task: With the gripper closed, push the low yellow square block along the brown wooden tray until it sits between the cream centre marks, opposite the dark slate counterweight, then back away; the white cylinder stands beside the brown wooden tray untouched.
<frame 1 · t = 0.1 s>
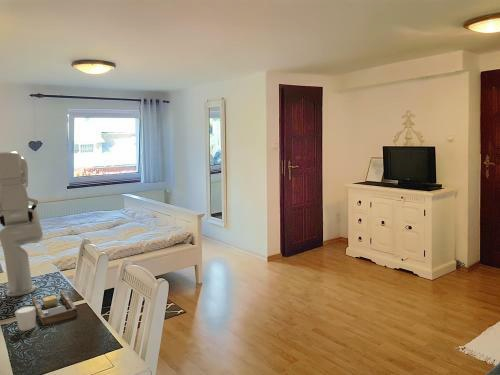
hand: (17, 223, 167), 37 cm above the table, tool pointing down, fingers open, 9 cm apart
counterweight: (58, 317, 161), resting in brown wooden tray
brown wooden tray: (54, 309, 168), on the table
white cylinder: (27, 327, 153), on the table
yellow square block: (50, 304, 174), resting in brown wooden tray
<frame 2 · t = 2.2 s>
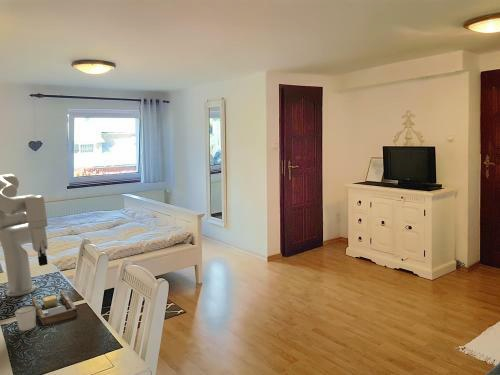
hand: (43, 264, 178), 16 cm above the table, tool pointing down, fingers closed
nothing on the table moved.
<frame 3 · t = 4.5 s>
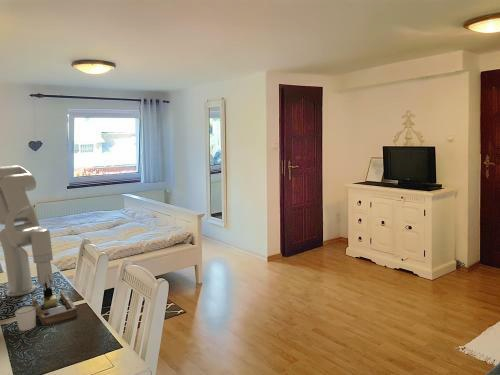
hand: (48, 297, 177), 2 cm above the table, tool pointing down, fingers closed
yellow square block: (50, 304, 174), resting in brown wooden tray, touching gripper
everything else where it was.
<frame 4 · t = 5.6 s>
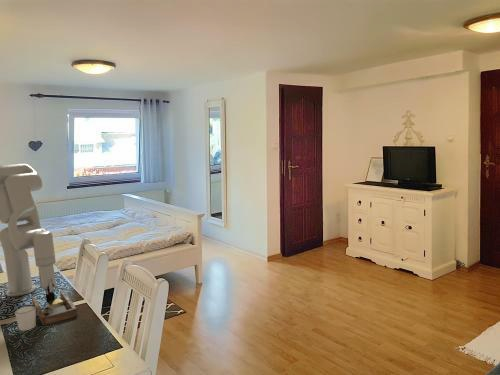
hand: (51, 302, 172), 2 cm above the table, tool pointing down, fingers closed
yellow square block: (56, 308, 170), resting in brown wooden tray, touching gripper
everything else where it was.
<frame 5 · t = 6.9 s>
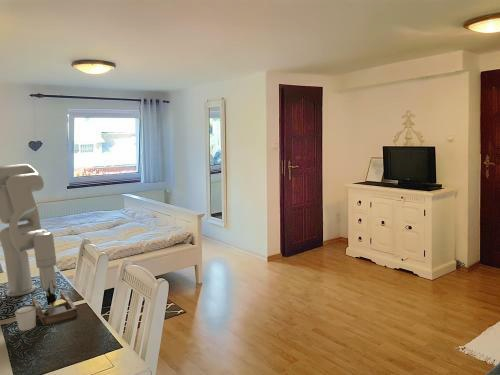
hand: (51, 303, 171), 1 cm above the table, tool pointing down, fingers closed
yellow square block: (59, 309, 169), resting in brown wooden tray
everything else where it was.
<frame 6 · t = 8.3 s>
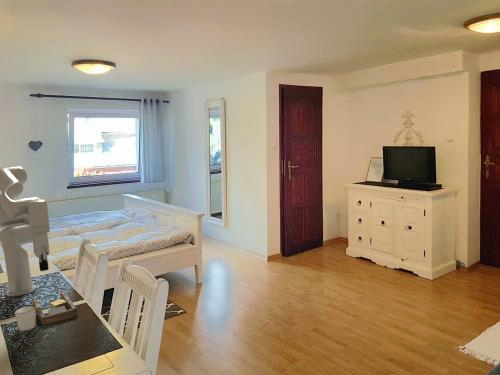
hand: (44, 269, 174), 15 cm above the table, tool pointing down, fingers closed
nothing on the table moved.
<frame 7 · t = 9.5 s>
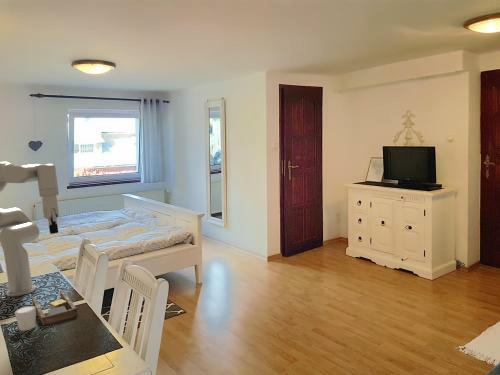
hand: (54, 233, 179), 29 cm above the table, tool pointing down, fingers closed
nothing on the table moved.
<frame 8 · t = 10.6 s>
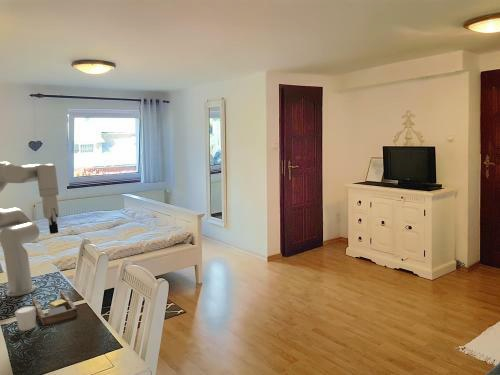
hand: (54, 233, 179), 29 cm above the table, tool pointing down, fingers closed
nothing on the table moved.
at the end: yellow square block inside the target area on the brown wooden tray (1.9 cm from its centre), point 0.0 cm above the brown wooden tray's base; counterweight moved 0.7 cm from its start; white cylinder moved 0.2 cm from its start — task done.
